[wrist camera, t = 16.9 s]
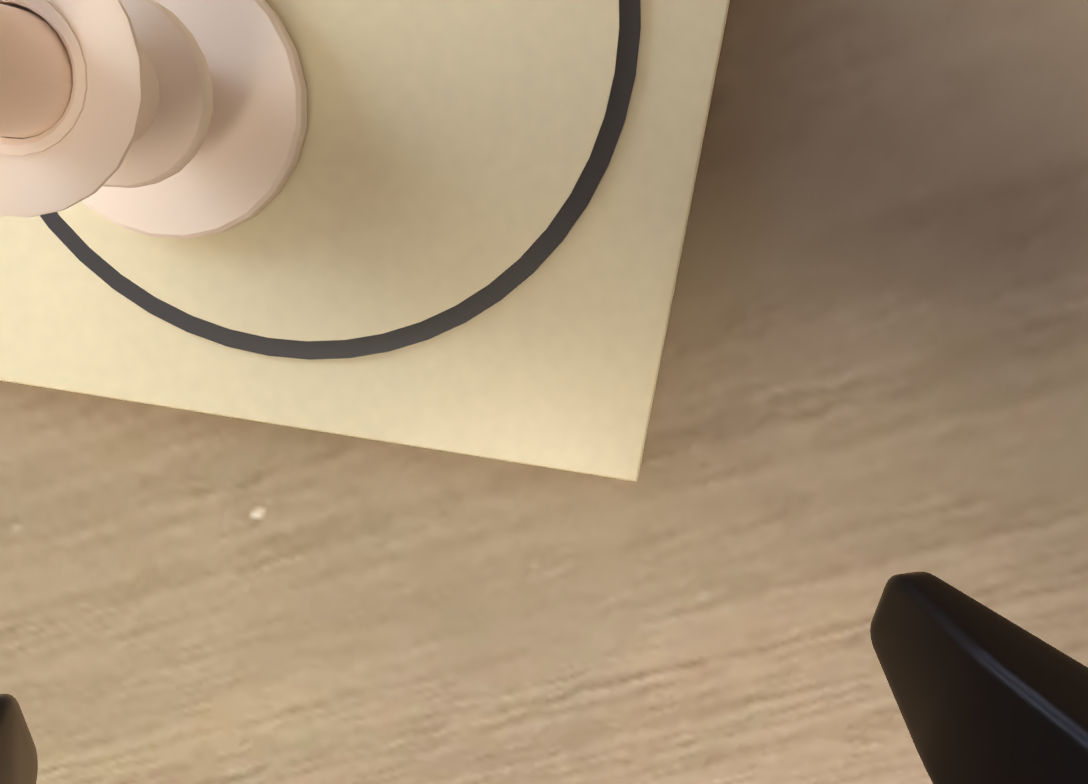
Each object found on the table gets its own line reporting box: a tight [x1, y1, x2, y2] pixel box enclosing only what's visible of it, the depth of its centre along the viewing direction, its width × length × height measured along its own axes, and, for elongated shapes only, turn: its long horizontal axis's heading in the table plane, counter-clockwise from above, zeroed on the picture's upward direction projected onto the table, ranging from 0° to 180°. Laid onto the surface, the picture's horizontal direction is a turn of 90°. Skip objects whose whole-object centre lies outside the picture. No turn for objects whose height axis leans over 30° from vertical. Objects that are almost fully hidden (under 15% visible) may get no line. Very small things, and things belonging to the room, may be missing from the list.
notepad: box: [0, 0, 730, 482], centre depth 17 cm, size 16×16×1 cm
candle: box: [0, 0, 307, 239], centre depth 12 cm, size 5×5×10 cm
